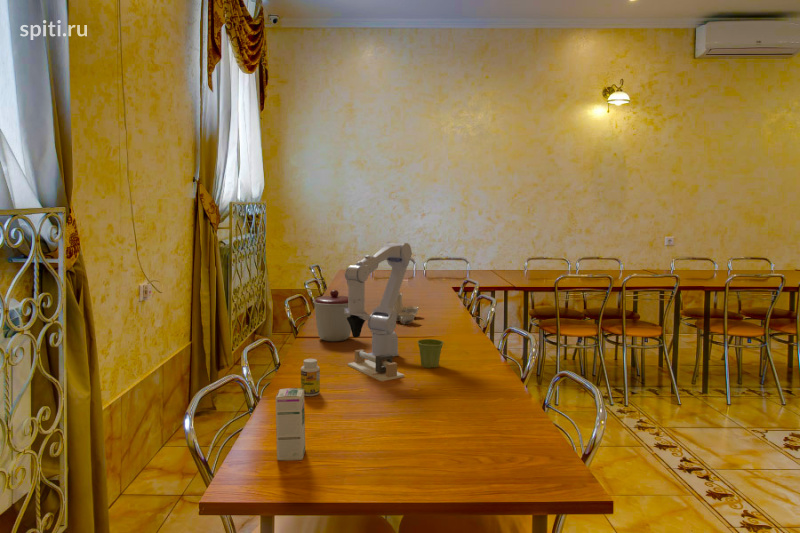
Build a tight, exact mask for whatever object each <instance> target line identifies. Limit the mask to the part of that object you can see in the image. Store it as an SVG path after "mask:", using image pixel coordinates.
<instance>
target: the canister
mask: <svg viewBox="0 0 800 533" xmlns="http://www.w3.org/2000/svg"><path fill="white" fill-rule="evenodd" d="M312 303H313V304H314V314H315V321H316V322H315V323H316V328H317V335H318V337H319V338H320V339H321V340H322V341H326V342H342V341H346V340H348V339H349V337H350V336H351V334H352V331H351V327H350V324H349V322H348V320H347V317H350V316H351V315H348V314H344V308H348V296H346V295H339V291H338V290H337V289H333V290H330V295H324V296H319V297H316V298H315V299H314V300H312Z"/></svg>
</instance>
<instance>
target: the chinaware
mask: <svg viewBox="0 0 800 533" xmlns="http://www.w3.org/2000/svg"><path fill="white" fill-rule="evenodd" d="M419 309H420V308H419V306H413V305H409V306H403V293H401V292H400V291H399V293H398V296H397V299H396V302H395V305H394V308H393V310H394V312H395V313H396V315H397V319H396V321H401V322H400V323H401V324H403V325H405V324H409V323H410V324H411V323H413V321H414V320H415V317H416V315H417V314H418V311H419Z"/></svg>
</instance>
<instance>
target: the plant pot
mask: <svg viewBox="0 0 800 533" xmlns="http://www.w3.org/2000/svg"><path fill="white" fill-rule="evenodd" d="M417 344H418V348H419V355H420V358H419V359H420V365H421V367H423V368H426V369H431V368H434V369H435V367H436V368H438V367H439V364H440V358H441V352H442V348H443V345H444V344H445V343H444V341H443V340H440V339H434V338H433V339H432V338H425V339H424V338H423V339H418V340H417Z"/></svg>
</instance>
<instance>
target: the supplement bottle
mask: <svg viewBox="0 0 800 533" xmlns="http://www.w3.org/2000/svg"><path fill="white" fill-rule="evenodd" d="M320 371H321V369H320V366H319V365H318V360H317V359H316V358H306V359H303V365H302V366H301V367H300V388H301V389H304V397H305V396H306V397H315V396H318V395H319V394H320V391H321V390H320V388H321V387H320V381H321V374H320V373H321V372H320Z"/></svg>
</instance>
